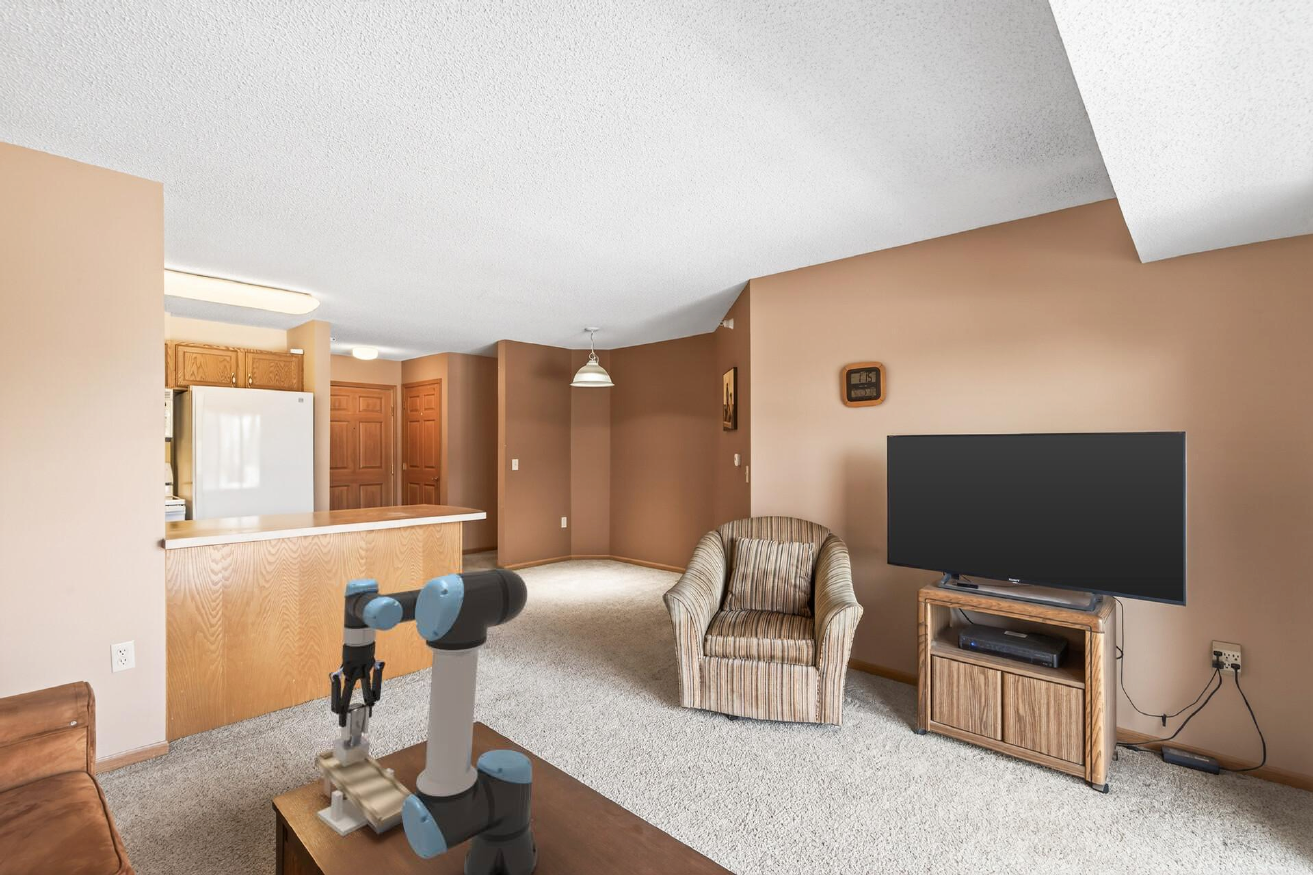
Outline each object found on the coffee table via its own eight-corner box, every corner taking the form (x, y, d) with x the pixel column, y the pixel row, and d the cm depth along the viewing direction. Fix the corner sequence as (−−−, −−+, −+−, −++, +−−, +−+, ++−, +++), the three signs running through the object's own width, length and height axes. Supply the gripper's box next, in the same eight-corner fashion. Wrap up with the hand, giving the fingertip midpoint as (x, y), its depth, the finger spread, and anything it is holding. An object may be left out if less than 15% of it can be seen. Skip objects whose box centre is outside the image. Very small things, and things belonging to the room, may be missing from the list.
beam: (416, 816, 142) (419, 795, 142) (373, 838, 134) (376, 816, 133) (353, 758, 160) (356, 739, 159) (312, 774, 151) (314, 755, 151)
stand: (406, 804, 149) (407, 776, 150) (342, 836, 136) (343, 805, 137) (363, 776, 161) (365, 750, 162) (300, 803, 148) (302, 774, 149)
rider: (367, 757, 152) (374, 708, 151) (344, 766, 147) (350, 715, 146) (356, 746, 155) (362, 698, 154) (332, 755, 150) (338, 705, 150)
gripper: (383, 631, 160) (379, 719, 159) (317, 646, 146) (312, 742, 145) (398, 637, 156) (394, 727, 155) (332, 653, 142) (327, 752, 141)
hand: (354, 734), depth 150 cm, fingers closed on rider, 4 cm apart
